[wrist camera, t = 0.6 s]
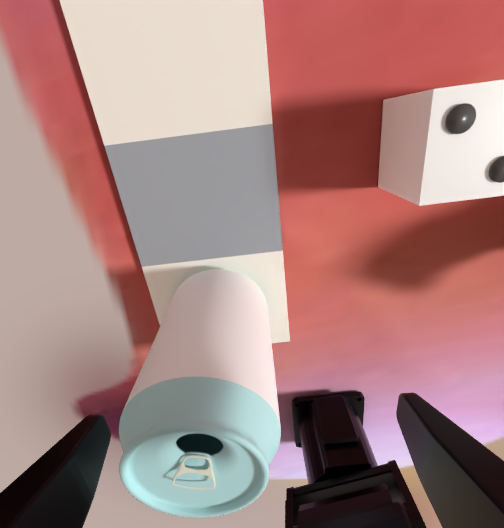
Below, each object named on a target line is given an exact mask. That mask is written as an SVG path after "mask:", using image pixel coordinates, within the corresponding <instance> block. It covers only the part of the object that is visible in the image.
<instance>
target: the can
mask: <svg viewBox="0 0 504 528" xmlns="http://www.w3.org/2000/svg"><path fill="white" fill-rule="evenodd" d="M119 437H120V441H121V445H122V449H123V455H122V458H121V460H120V465H119V474H120V477H121V480H122V482H123V484H124V486H125V487H126V489H127V490H128V492H129V493H130V494H131V495H132V496H133V497H135V498H136V499H137V500H139V501H140V502H141V503H143V504H145V505H147V506H148V507H151V508H153V509H155V510H158V511H161V512H164V513H168V514H172V515H176V516H182V517H214V516H220V515H225V514H228V513H232V512H235V511H237V510H240V509H242V508H244V507H246V506H248V505H249V504H251V503H252V502H253V501H255V500H256V499H257V498H258V497H259V496H260V495H261V493H262V492H263V491H264V489H265V488H266V485H267V483H268V479H269V468H268V466H269V464H270V463H271V461H272V459H273V458H274V456H275V454H276V452H277V450H278V447H279V443H280V439H281V426H280V417H279V408H278V398H277V389H276V380H275V371H274V361H273V352H272V343H271V334H270V325H269V315H268V306H267V302H266V299H265V296H264V294H263V292H262V291H261V289H260V288H259V287H258V286H257V285H256V284H255V283H254V282H253V281H252V280H251V279H249V278H248V277H246V276H244V275H242V274H240V273H237V272H234V271H230V270H224V269H211V270H206V271H202V272H199V273H196V274H194V275H192V276H191V277H189V278H188V279H186V280H185V281H184V282H183V283H182V284H181V285H180V286H179V287H178V289H177V290H176V292H175V294H174V296H173V299H172V301H171V303H170V305H169V308H168V310H167V312H166V315H165V317H164V319H163V321H162V324H161V326H160V328H159V330H158V333H157V335H156V337H155V339H154V342H153V344H152V346H151V348H150V351H149V353H148V355H147V358H146V360H145V362H144V364H143V367H142V369H141V371H140V373H139V376H138V378H137V380H136V382H135V385H134V387H133V389H132V391H131V394H130V396H129V398H128V401H127V403H126V405H125V407H124V410H123V412H122V415H121V417H120V422H119Z"/></svg>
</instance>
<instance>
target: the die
mask: <svg viewBox="0 0 504 528" xmlns="http://www.w3.org/2000/svg"><path fill="white" fill-rule="evenodd" d="M378 188H381V189H383V190H385V191H387V192H390V193H392V194H394V195H396V196H399V197H401V198H403V199H405V200H408V201H410V202H412V203H414V204H416V205H419V206H421V205H429V204H437V203H446V202H454V201H463V200H471V199H480V198H488V197H496V196H504V80H498V81H491V82H483V83H476V84H468V85H460V86H453V87H445V88H438V89H431V90H427V91H422V92H417V93H413V94H408V95H403V96H398V97H394V98H389V99H384V100H383V113H382V129H381V145H380V161H379V176H378Z"/></svg>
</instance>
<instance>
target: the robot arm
mask: <svg viewBox="0 0 504 528" xmlns="http://www.w3.org/2000/svg"><path fill="white" fill-rule="evenodd" d="M292 410H293V422H294V433H295V443H296V446H297V447H302V449H303V455H304V461H305V467H306V472H307V478H308V485H304V486H300V487H296V488H294V487H291V488H287V500H286V501H285V502H286V503H285V528H426V526H425V523H424V522H423V519H422V517H421V515H420V512H419V510H418V508H417V506H416V504H415V502H414V500H413V497H412V495H411V493H410V491H409V489H408V487H407V485H406V483H405V480H404V478H403V476H402V474H401V472H400V470H399V468H398V466H397V463H396V461H395V460H393V461H389V462H388V463H387V464H384V465H380V466H378V465H377V462H376V460H375V457H374V455H373V452H372V449H371V447H370V444H369V442H368V439H367V437H366V434H365V431H364V429H363V414H364V396H363V394H362V393H361V392H352V393H342V394H332V395H322V396H311V397H301V398H295V399H293V400H292ZM397 420H398V423H399V426H400V428H401V431H402V434H403V436H404V439H405V442H406V445H407V447H408V450H409V453H410V455H411V458H412V461H413V463H414V466H415V469H416V471H417V474H418V476H419V479H420V481H421V483H422V485H423V487H424V490H425V492H426V494H427V496H428V498H429V500H430V502H431V504H432V506H433V508H434V511H435V513H436V514H437V517H438V519H439V521H440V523H441V525H442V527H443V528H504V461H503V460H502V459H500V458H499V457H498V456H496V455H495V454H494V453H493V452H491V451H490V450H489V449H487V448H486V447H485V446H484V445H482V444H481V443H480V442H478V441H477V440H476V439H474V438H473V437H472V436H470V435H469V434H468V433H467V432H465V431H464V430H463V429H461V428H460V427H459V426H457V425H456V424H455V423H454V422H452V421H451V420H450V419H448V418H447V417H446V416H444V415H443V414H442V413H441V412H439V411H438V410H437V409H435V408H434V407H433V406H431V405H430V404H429V403H428V402H426V401H425V400H424V399H422V398H421V397H420V396H418V395H417V394H415V393H402V394H400V395H399V400H398V406H397ZM110 438H111V433H110V429H109V427H108V425H107V422H106V420H105V417H104V416H103V415H102V414H93V415H88V416H87V417H85V418H84V419H83V420H82V421H81V422H80V423H79V424H77V425H76V426H75V427H74V428H73V429H72V430H71V431H70V432H69V433H67V434H66V435H65V436H64V437H63V438H62V439H61V440H59V441H58V442H57V443H56V444H55V445H54V446H53V447H52V448H51V449H49V450H48V451H47V452H46V453H45V454H44V455H43V456H42V457H40V458H39V459H38V460H37V461H36V462H35V463H34V464H33V465H31V466H30V467H29V468H28V469H27V470H26V471H25V472H24V473H22V474H21V475H20V476H19V477H18V478H17V479H16V480H15V481H14V482H12V483H11V484H10V485H9V486H8V487H7V488H6V489H5V490H3V491H2V492H1V493H0V528H82V527H83V525H84V522H85V519H86V517H87V514H88V512H89V509H90V506H91V503H92V500H93V498H94V495H95V491H96V488H97V485H98V481H99V477H100V474H101V470H102V467H103V463H104V460H105V457H106V453H107V449H108V446H109V442H110Z"/></svg>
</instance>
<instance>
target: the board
mask: <svg viewBox="0 0 504 528" xmlns="http://www.w3.org/2000/svg"><path fill="white" fill-rule="evenodd" d="M60 4H61V7H62V10H63V13H64V17H65V20H66V23H67V26H68V30H69V33H70V36H71V39H72V43H73V46H74V49H75V52H76V55H77V59H78V62H79V65H80V68H81V72H82V75H83V78H84V81H85V85H86V88H87V91H88V94H89V98H90V101H91V104H92V107H93V111H94V114H95V117H96V120H97V124H98V127H99V130H100V133H101V137H102V140H103V143H104V146H105V150H106V153H107V156H108V159H109V162H110V166H111V169H112V172H113V175H114V179H115V182H116V185H117V188H118V192H119V195H120V198H121V201H122V205H123V208H124V211H125V214H126V218H127V221H128V224H129V227H130V231H131V234H132V237H133V240H134V244H135V247H136V250H137V253H138V257H139V260H140V263H141V266H142V269H143V273H144V276H145V279H146V282H147V286H148V289H149V292H150V295H151V299H152V302H153V305H154V308H155V312H156V315H157V318H158V321H159V325H160V326H161V324H162V321H163V319H164V317H165V315H166V312H167V310H168V308H169V305H170V303H171V301H172V299H173V296H174V294H175V292H176V290H177V289H178V287H179V286H180V285H181V284H182V283H183V282H184V281H185V280H186V279H188V278H189V277H191V276H192V275H194V274H196V273H199V272H202V271H206V270H211V269H224V270H230V271H234V272H237V273H240V274H242V275H244V276H246V277H248V278H249V279H251V280H252V281H253V282H254V283H255V284H256V285H257V286H258V287H259V288H260V289H261V291H262V292H263V294H264V296H265V299H266V302H267V306H268V315H269V325H270V334H271V343H279V342H289V341H290V336H289V324H288V311H287V299H286V286H285V273H284V261H283V248H282V236H281V223H280V211H279V198H278V185H277V173H276V160H275V148H274V135H273V123H272V110H271V97H270V85H269V72H268V60H267V47H266V35H265V22H264V10H263V0H60Z"/></svg>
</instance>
